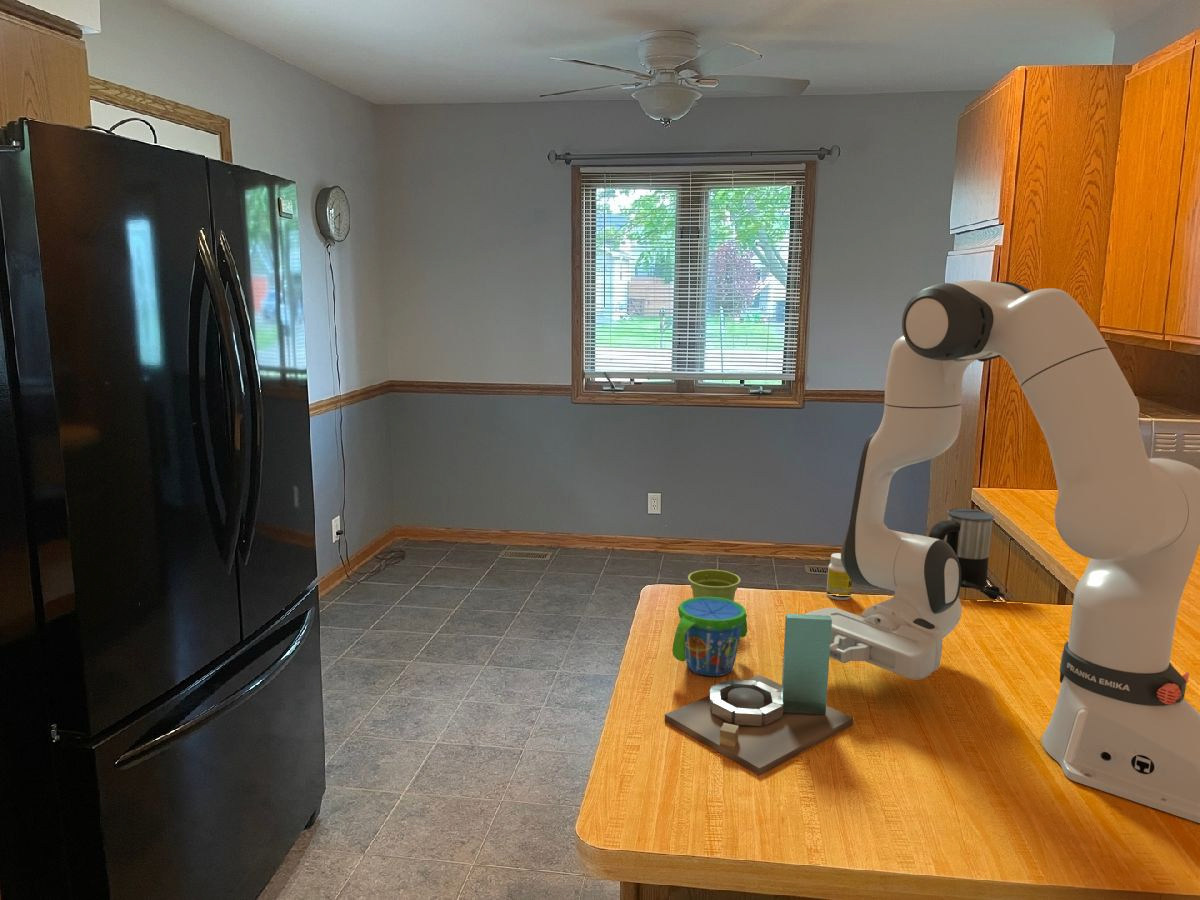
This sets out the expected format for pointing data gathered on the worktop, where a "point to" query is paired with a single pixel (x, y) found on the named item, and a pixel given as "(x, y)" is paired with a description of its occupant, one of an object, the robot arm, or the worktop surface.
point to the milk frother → (969, 546)
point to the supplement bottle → (838, 579)
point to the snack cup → (709, 634)
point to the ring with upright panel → (787, 676)
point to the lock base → (757, 729)
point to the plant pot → (714, 584)
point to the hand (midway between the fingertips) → (835, 654)
